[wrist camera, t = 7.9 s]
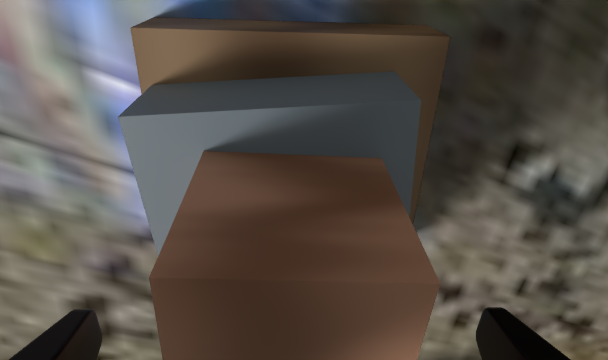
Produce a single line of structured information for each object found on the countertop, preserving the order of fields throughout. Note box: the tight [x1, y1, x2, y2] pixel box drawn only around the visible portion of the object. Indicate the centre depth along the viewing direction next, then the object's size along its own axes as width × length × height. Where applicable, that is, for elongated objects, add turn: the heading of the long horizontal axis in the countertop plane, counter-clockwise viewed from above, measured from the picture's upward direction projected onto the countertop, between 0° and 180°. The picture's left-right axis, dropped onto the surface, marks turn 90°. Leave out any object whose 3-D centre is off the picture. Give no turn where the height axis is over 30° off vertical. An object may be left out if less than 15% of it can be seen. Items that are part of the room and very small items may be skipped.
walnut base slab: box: [131, 17, 450, 224], centre depth 16 cm, size 10×10×3 cm
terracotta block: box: [149, 151, 440, 360], centre depth 10 cm, size 5×5×5 cm
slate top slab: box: [118, 71, 421, 256], centre depth 14 cm, size 8×8×3 cm
